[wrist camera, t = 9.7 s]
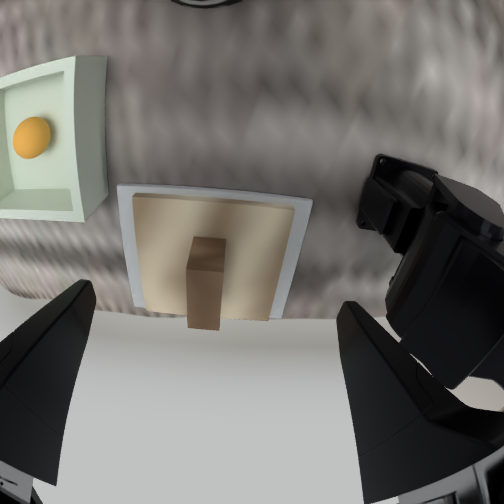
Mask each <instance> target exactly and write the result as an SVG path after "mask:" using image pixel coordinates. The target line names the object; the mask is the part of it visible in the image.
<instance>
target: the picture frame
mask: <svg viewBox="0 0 504 504" xmlns="http://www.w3.org/2000/svg"><path fill="white" fill-rule="evenodd" d="M135 193H155V194H172V195H187V196H201V197H214V198H225V199H236V200H247V201H257V202H266V203H276V204H284V205H293V206H294V209H295V212H294V217H293V221H292V226H291V230H290V234H289V239H288V243H287V247H286V251H285V256H284V260H283V264H282V268H281V272H280V276H279V280H278V284H277V288H276V292H275V296H274V300H273V304H272V308H271V312H270V316H269V318H279V319H281V317H282V313H283V310H284V307H285V303H286V300H287V296H288V293H289V290H290V286H291V283H292V279H293V276H294V272H295V268H296V265H297V261H298V257H299V254H300V250H301V246H302V243H303V239H304V235H305V231H306V227H307V223H308V220H309V216H310V212H311V208H312V204H313V201H312V199H308V198H301V197H293V196H285V195H276V194H267V193H258V192H249V191H238V190H227V189H216V188H203V187H189V186H173V185H154V184H130V183H119V184H118V185H117V196H118V206H119V216H120V224H121V232H122V239H123V246H124V253H125V259H126V265H127V271H128V277H129V282H130V287H131V292H132V297H133V302H134V306H135V307H143V308H146V306H145V301H144V295H143V289H142V283H141V276H140V269H139V262H138V254H137V246H136V237H135V228H134V217H133V204H132V196H133V195H134V194H135Z"/></svg>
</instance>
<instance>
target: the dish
mask: <svg viewBox="0 0 504 504" xmlns="http://www.w3.org/2000/svg"><path fill="white" fill-rule="evenodd" d="M106 69H107V56H73V57H68V58H64V59H59V60H55V61H51V62H48V63H44V64H40V65H37V66H34V67H30V68H27V69H24V70H21V71H18V72H15V73H12V74H9V75H7V76H4V77H1V78H0V218H14V219H34V220H53V221H71V222H86V220H87V219H88V218H89V217H90V216H91V214H92V213H93V212H94V211H95V210H96V209H97V207H98V206H99V205H100V204H101V203H102V202H103V200H104V199H105V198H106V197H107V196H108V195H109V190H108V178H107V164H106V144H105V88H106ZM30 117H39V118H42V119H43V120H45V121H46V122H47V124H48V126H49V128H50V141H49V144H48V146H47V148H46V149H45V151H44V152H43V153H42V154H40V155H39V156H38V157H35V158H32V159H25V158H22V157H20V156H19V155H18V154H17V153H16V152H15V150H14V147H13V135H14V132H15V130H16V128H17V127H18V125H19V124H20V123H21V122H22V121H24V120H25V119H27V118H30Z"/></svg>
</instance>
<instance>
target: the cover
mask: <svg viewBox="0 0 504 504" xmlns="http://www.w3.org/2000/svg"><path fill="white" fill-rule="evenodd" d="M132 204H133V217H134V228H135V237H136V246H137V254H138V262H139V269H140V276H141V283H142V289H143V295H144V301H145V306H146V311H153V312H162V313H171V314H181V315H187V321H188V328H195V329H206V330H219V327H220V318H228V319H243V320H261V321H268V320H269V316H270V312H271V308H272V304H273V300H274V296H275V292H276V288H277V284H278V280H279V276H280V272H281V268H282V264H283V260H284V256H285V251H286V247H287V243H288V239H289V234H290V230H291V226H292V221H293V217H294V212H295V209H294V206H293V205H284V204H276V203H266V202H257V201H247V200H236V199H225V198H214V197H201V196H187V195H172V194H155V193H135V194H134V195H133V196H132Z"/></svg>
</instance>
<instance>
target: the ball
mask: <svg viewBox="0 0 504 504" xmlns="http://www.w3.org/2000/svg"><path fill="white" fill-rule="evenodd" d="M49 141H50V128H49V126H48V124H47V122H46V121H45V120H43V119H42V118H39V117H30V118H27V119H25V120H24V121H22V122H21V123H20V124H19V125H18V127H17V128H16V130H15V132H14V135H13V147H14V150H15V152H16V153H17V154H18V155H19V156H20V157H22V158H25V159H32V158H35V157H38V156H39V155H40V154H42V153H43V152H44V151H45V149H46V148H47V146H48V144H49Z"/></svg>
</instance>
